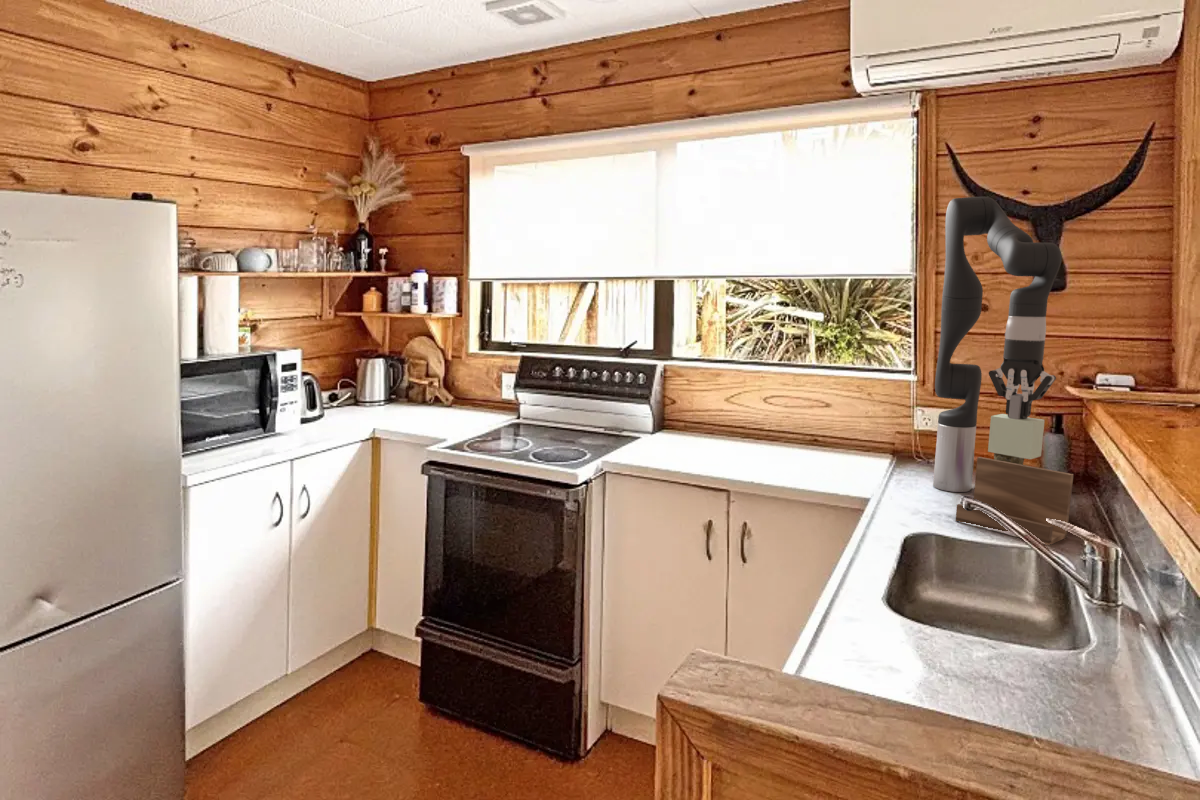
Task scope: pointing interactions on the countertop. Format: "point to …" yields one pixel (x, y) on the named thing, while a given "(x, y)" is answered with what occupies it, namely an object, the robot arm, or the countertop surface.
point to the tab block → (1016, 433)
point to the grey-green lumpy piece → (1008, 458)
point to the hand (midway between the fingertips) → (1017, 417)
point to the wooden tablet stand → (1021, 497)
